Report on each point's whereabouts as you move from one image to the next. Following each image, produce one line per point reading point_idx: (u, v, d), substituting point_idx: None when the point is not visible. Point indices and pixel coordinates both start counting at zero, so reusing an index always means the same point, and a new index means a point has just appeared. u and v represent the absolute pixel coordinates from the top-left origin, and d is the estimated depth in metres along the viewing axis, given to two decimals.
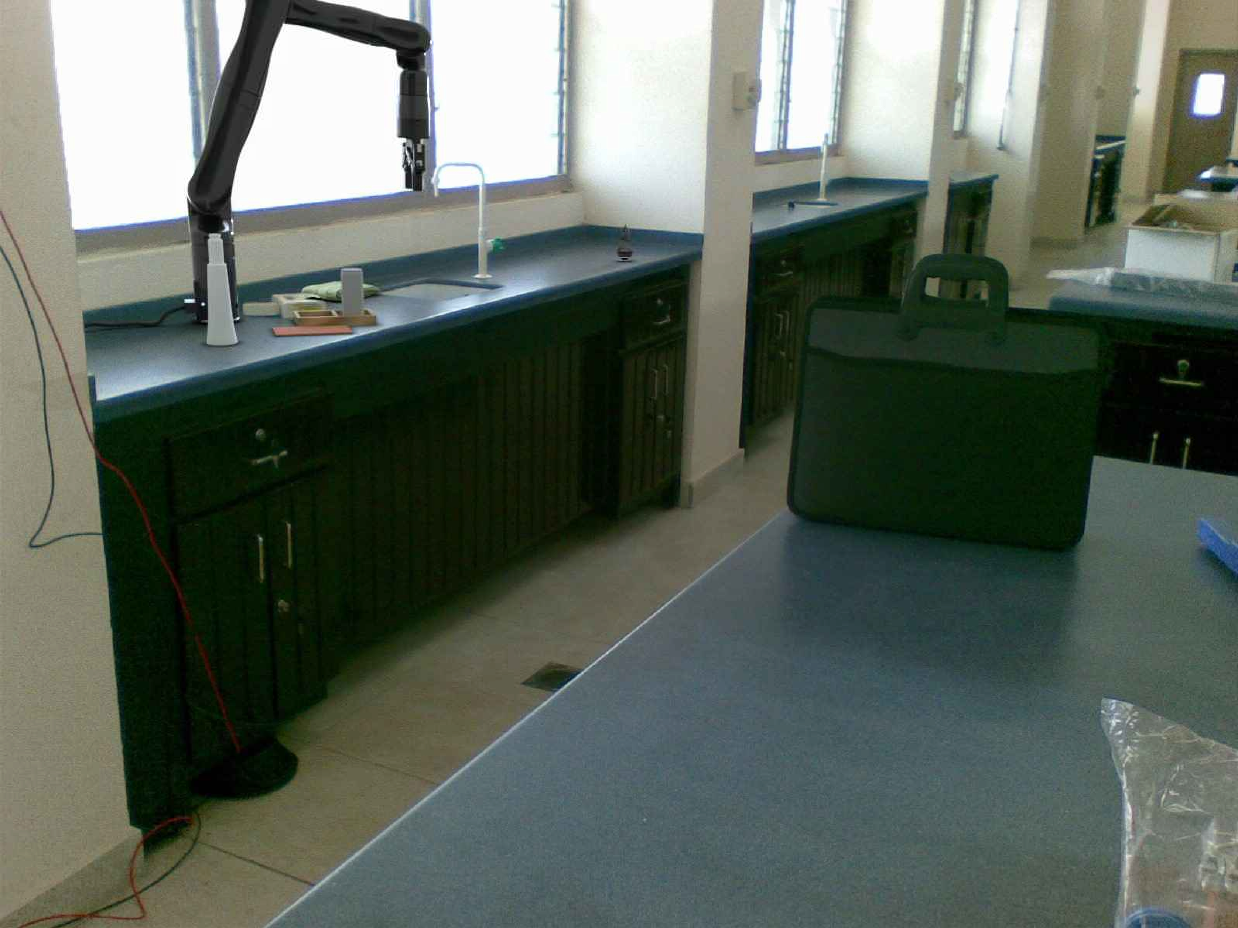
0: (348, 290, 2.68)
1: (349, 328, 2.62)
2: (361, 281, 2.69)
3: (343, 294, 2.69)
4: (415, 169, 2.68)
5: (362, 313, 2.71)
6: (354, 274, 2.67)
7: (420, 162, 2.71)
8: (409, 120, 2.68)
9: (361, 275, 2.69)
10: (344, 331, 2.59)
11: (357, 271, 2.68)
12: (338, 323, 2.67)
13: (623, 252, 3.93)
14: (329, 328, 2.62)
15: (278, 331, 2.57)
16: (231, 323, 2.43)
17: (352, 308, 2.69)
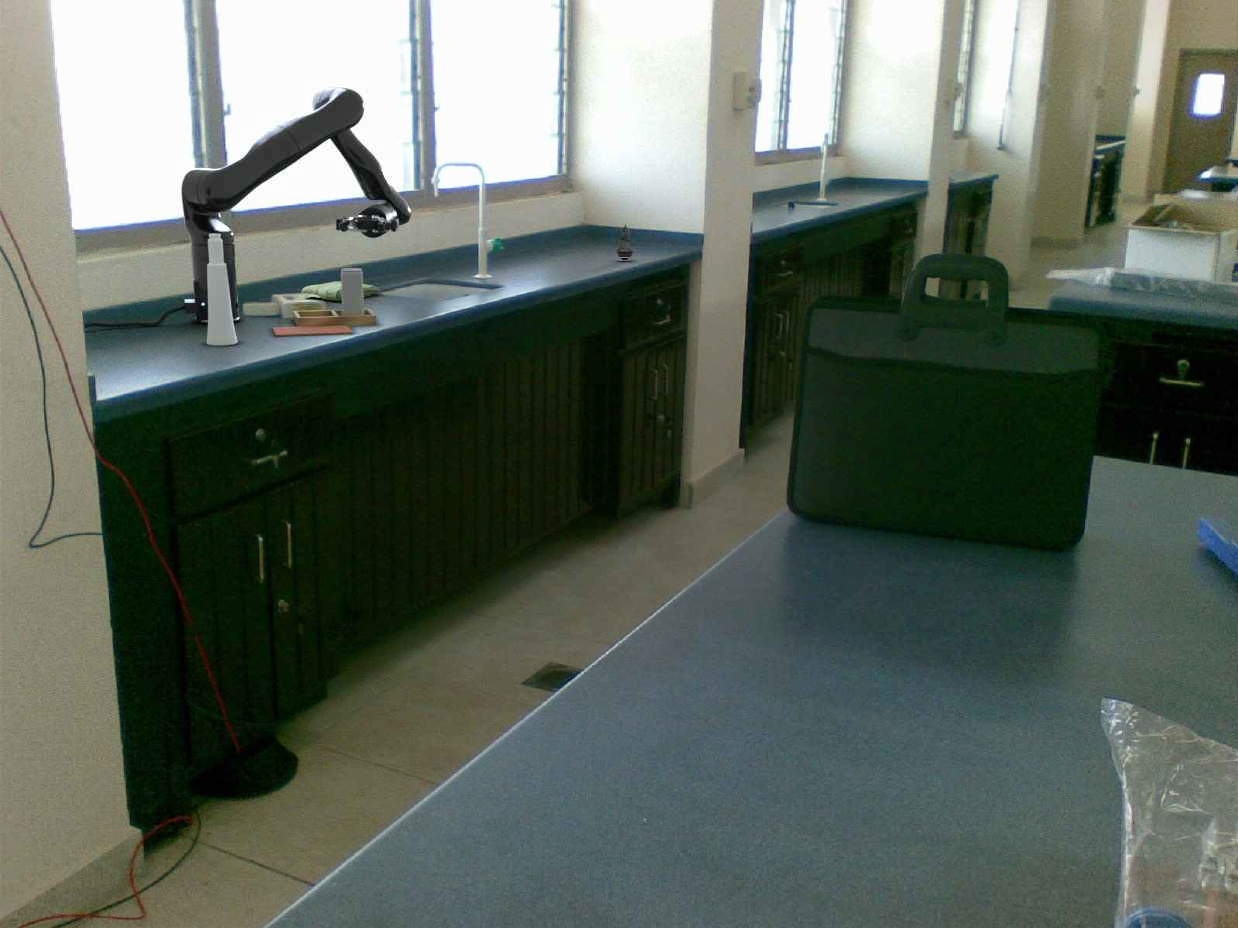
0: (348, 290, 2.68)
1: (349, 328, 2.62)
2: (361, 281, 2.69)
3: (343, 294, 2.69)
4: (395, 222, 2.81)
5: (362, 313, 2.71)
6: (354, 274, 2.67)
7: None
8: (389, 214, 2.91)
9: (361, 275, 2.69)
10: (344, 331, 2.59)
11: (357, 271, 2.68)
12: (338, 323, 2.67)
13: (623, 252, 3.93)
14: (329, 328, 2.62)
15: (278, 331, 2.57)
16: (231, 323, 2.43)
17: (352, 308, 2.69)
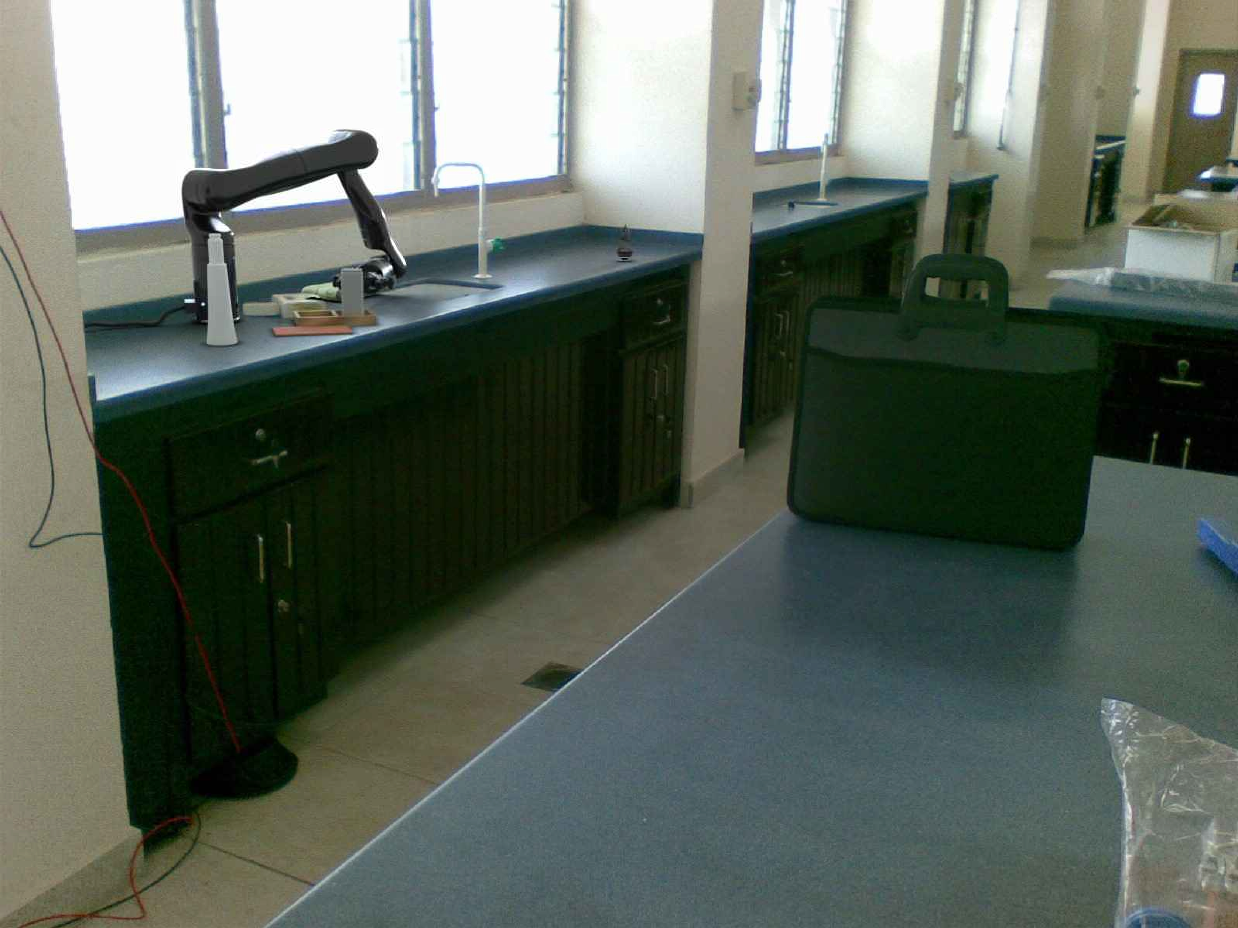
0: (348, 290, 2.68)
1: (349, 328, 2.62)
2: (361, 281, 2.69)
3: (343, 294, 2.69)
4: (392, 279, 2.81)
5: (362, 313, 2.71)
6: (354, 274, 2.67)
7: None
8: (385, 270, 2.91)
9: (361, 275, 2.69)
10: (344, 331, 2.59)
11: (357, 271, 2.68)
12: (338, 323, 2.67)
13: (623, 252, 3.93)
14: (329, 328, 2.62)
15: (278, 331, 2.57)
16: (231, 323, 2.43)
17: (352, 308, 2.69)
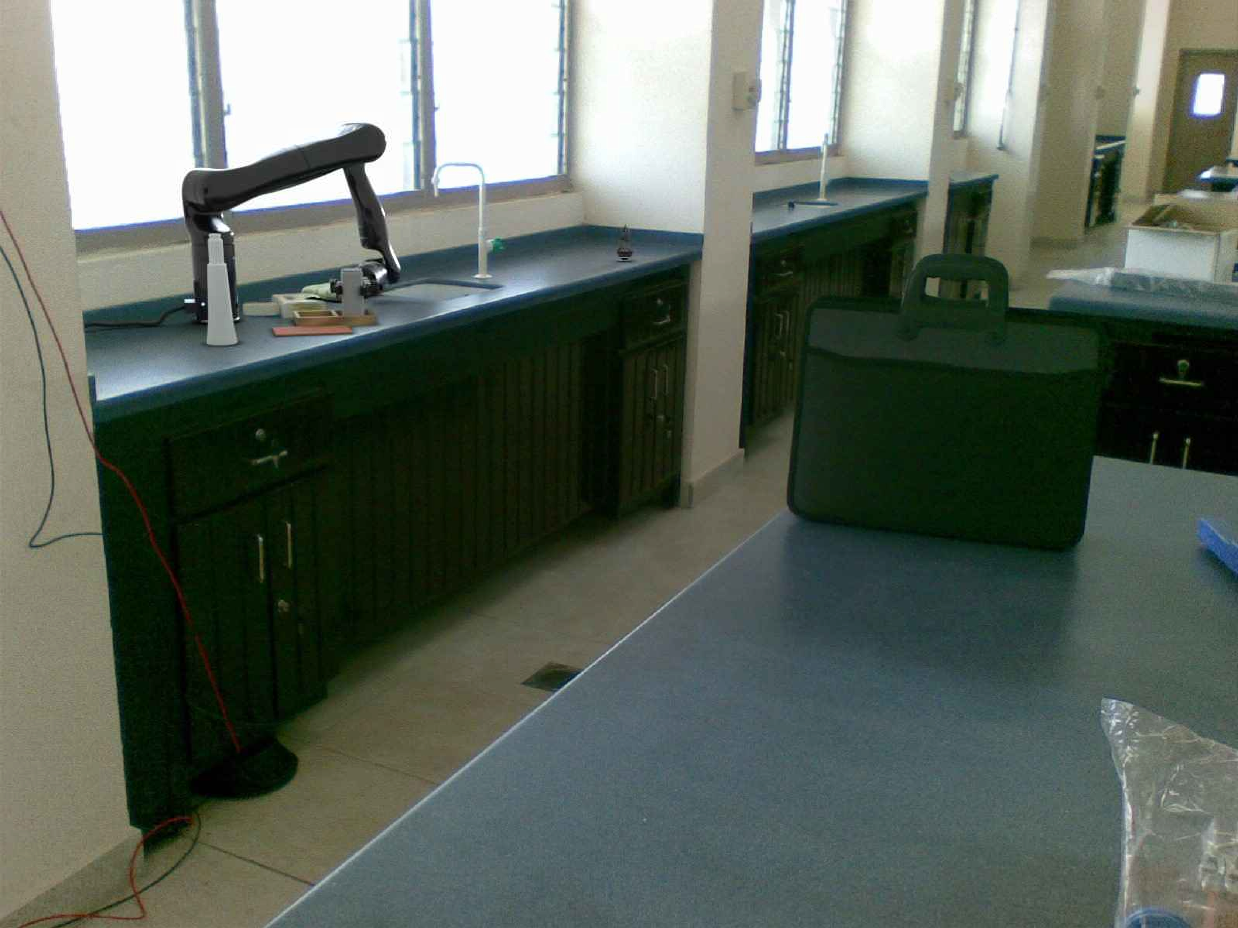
0: (348, 290, 2.68)
1: (349, 328, 2.62)
2: (361, 281, 2.69)
3: (343, 294, 2.69)
4: (378, 284, 2.72)
5: (362, 313, 2.71)
6: (354, 274, 2.67)
7: None
8: (379, 274, 2.83)
9: (361, 275, 2.69)
10: (344, 331, 2.59)
11: (357, 271, 2.68)
12: (338, 323, 2.67)
13: (623, 252, 3.93)
14: (329, 328, 2.62)
15: (278, 331, 2.57)
16: (231, 323, 2.43)
17: (352, 308, 2.69)
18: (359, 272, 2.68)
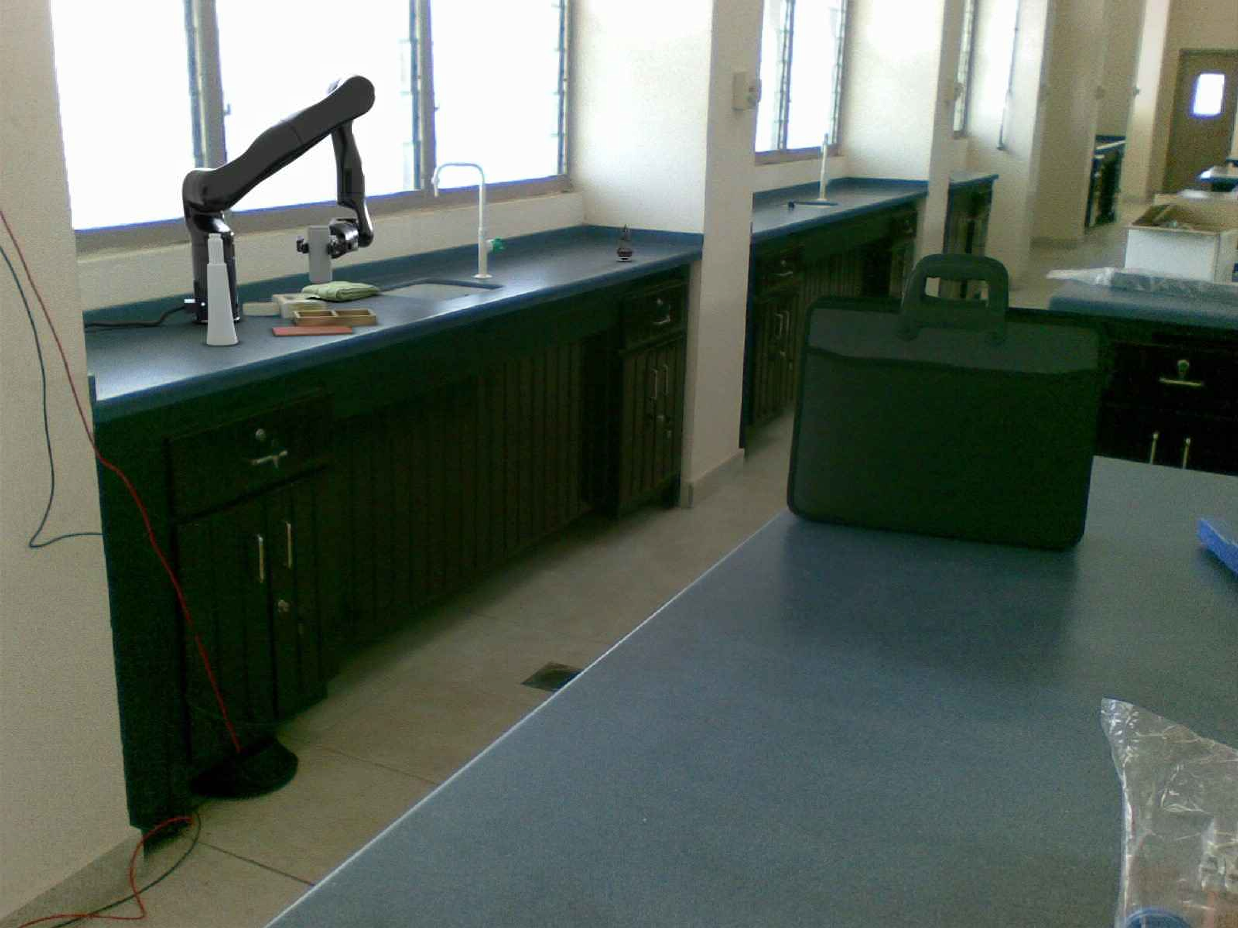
0: (315, 248, 2.56)
1: (349, 328, 2.62)
2: (328, 239, 2.57)
3: (310, 253, 2.57)
4: (347, 242, 2.60)
5: (330, 273, 2.59)
6: (321, 231, 2.55)
7: None
8: (348, 233, 2.71)
9: (328, 233, 2.57)
10: (344, 331, 2.59)
11: (324, 228, 2.55)
12: (338, 323, 2.67)
13: (623, 252, 3.93)
14: (329, 328, 2.62)
15: (278, 331, 2.57)
16: (231, 323, 2.43)
17: (319, 267, 2.57)
18: (326, 229, 2.56)
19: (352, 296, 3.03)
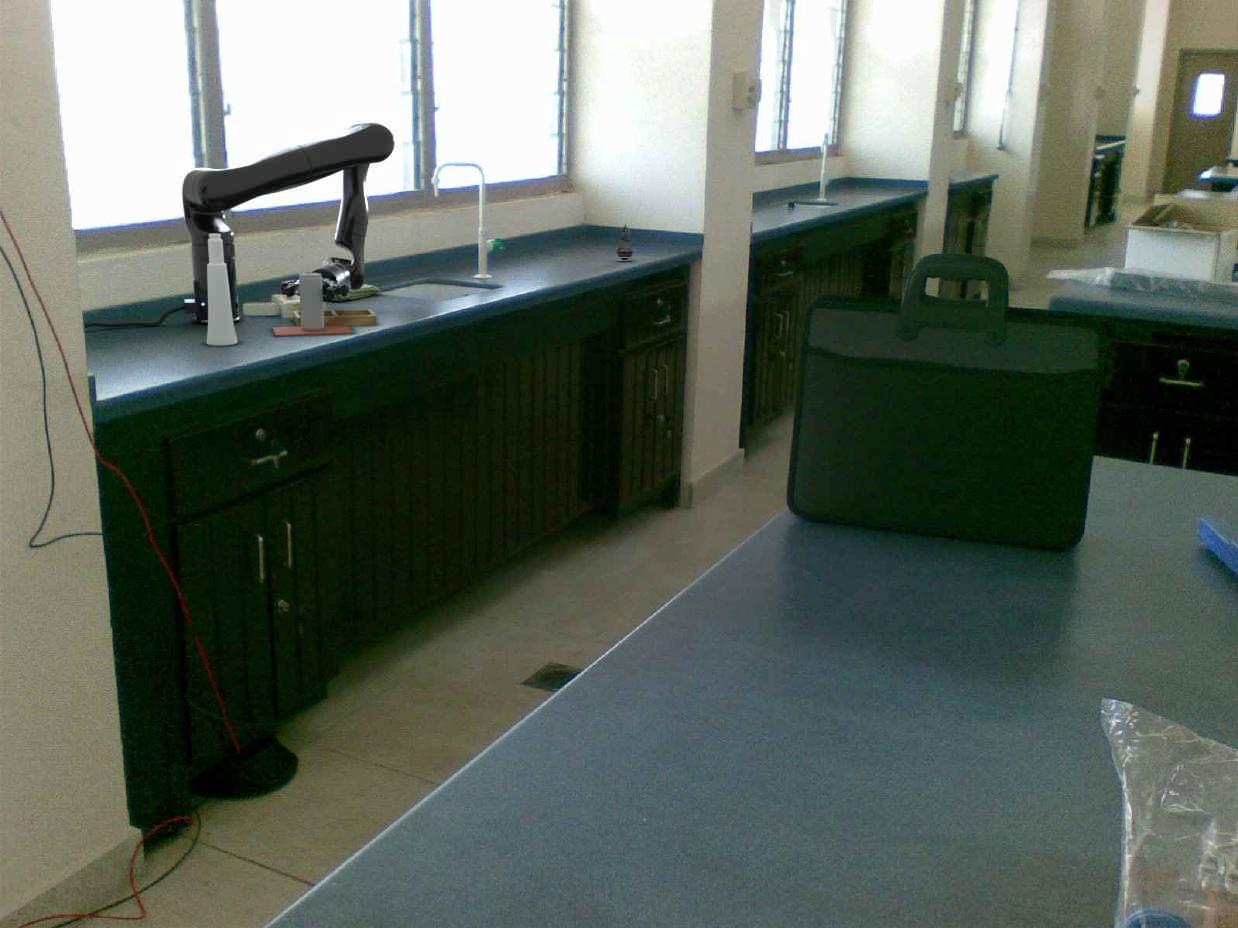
0: (307, 296, 2.56)
1: (349, 328, 2.62)
2: (320, 286, 2.57)
3: (301, 300, 2.57)
4: (346, 286, 2.60)
5: (322, 320, 2.59)
6: (313, 279, 2.55)
7: None
8: (340, 276, 2.70)
9: (320, 280, 2.56)
10: (344, 331, 2.59)
11: (316, 276, 2.55)
12: (338, 323, 2.67)
13: (623, 252, 3.93)
14: (329, 328, 2.62)
15: (278, 331, 2.57)
16: (231, 323, 2.43)
17: (311, 315, 2.57)
18: (318, 277, 2.56)
19: (352, 296, 3.03)
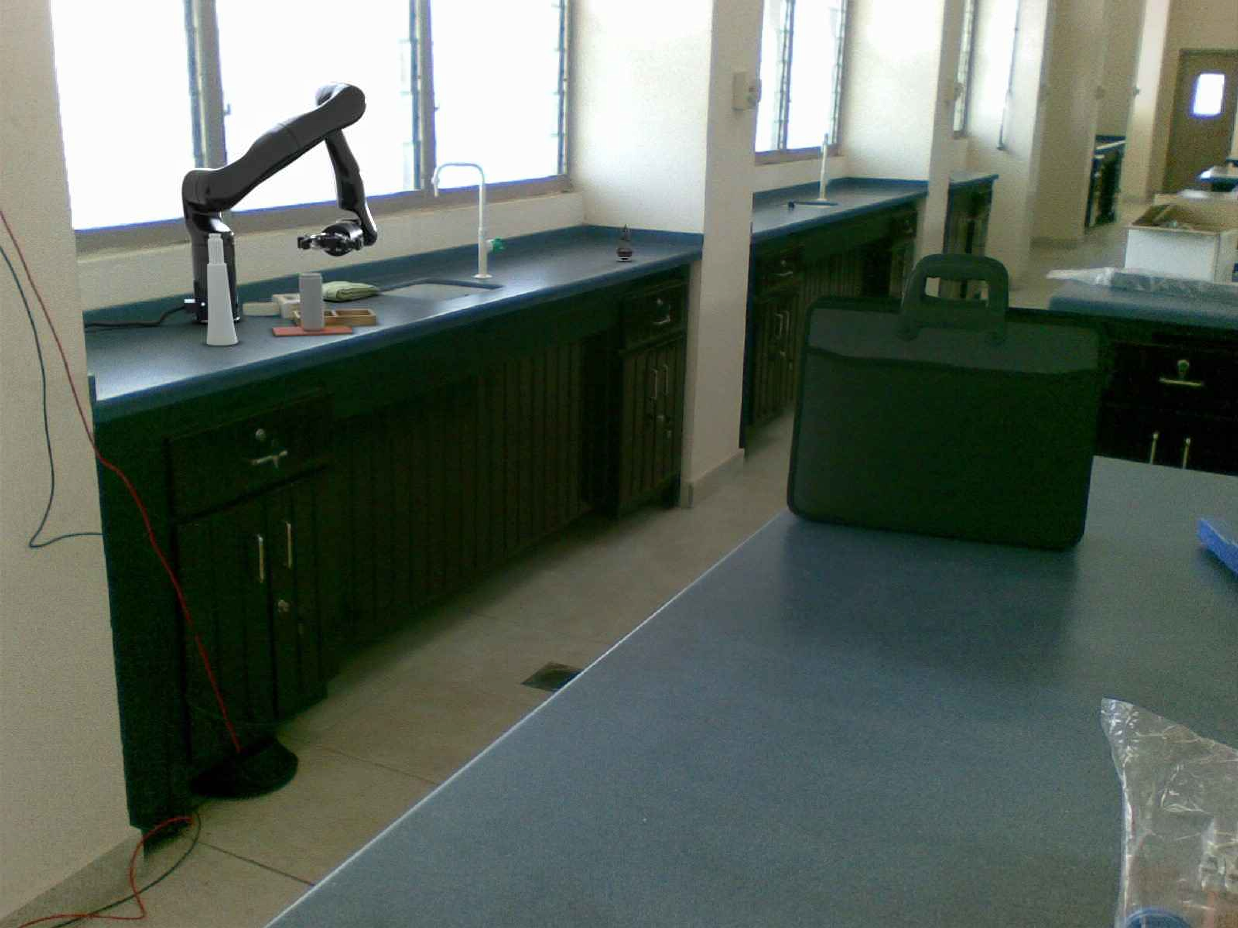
0: (307, 296, 2.56)
1: (349, 328, 2.62)
2: (320, 286, 2.57)
3: (301, 300, 2.57)
4: (359, 240, 2.72)
5: (322, 320, 2.59)
6: (313, 279, 2.55)
7: None
8: (353, 232, 2.82)
9: (320, 280, 2.56)
10: (344, 331, 2.59)
11: (316, 276, 2.55)
12: (338, 323, 2.67)
13: (623, 252, 3.93)
14: (329, 328, 2.62)
15: (278, 331, 2.57)
16: (231, 323, 2.43)
17: (311, 315, 2.57)
18: (318, 277, 2.56)
19: (352, 296, 3.03)
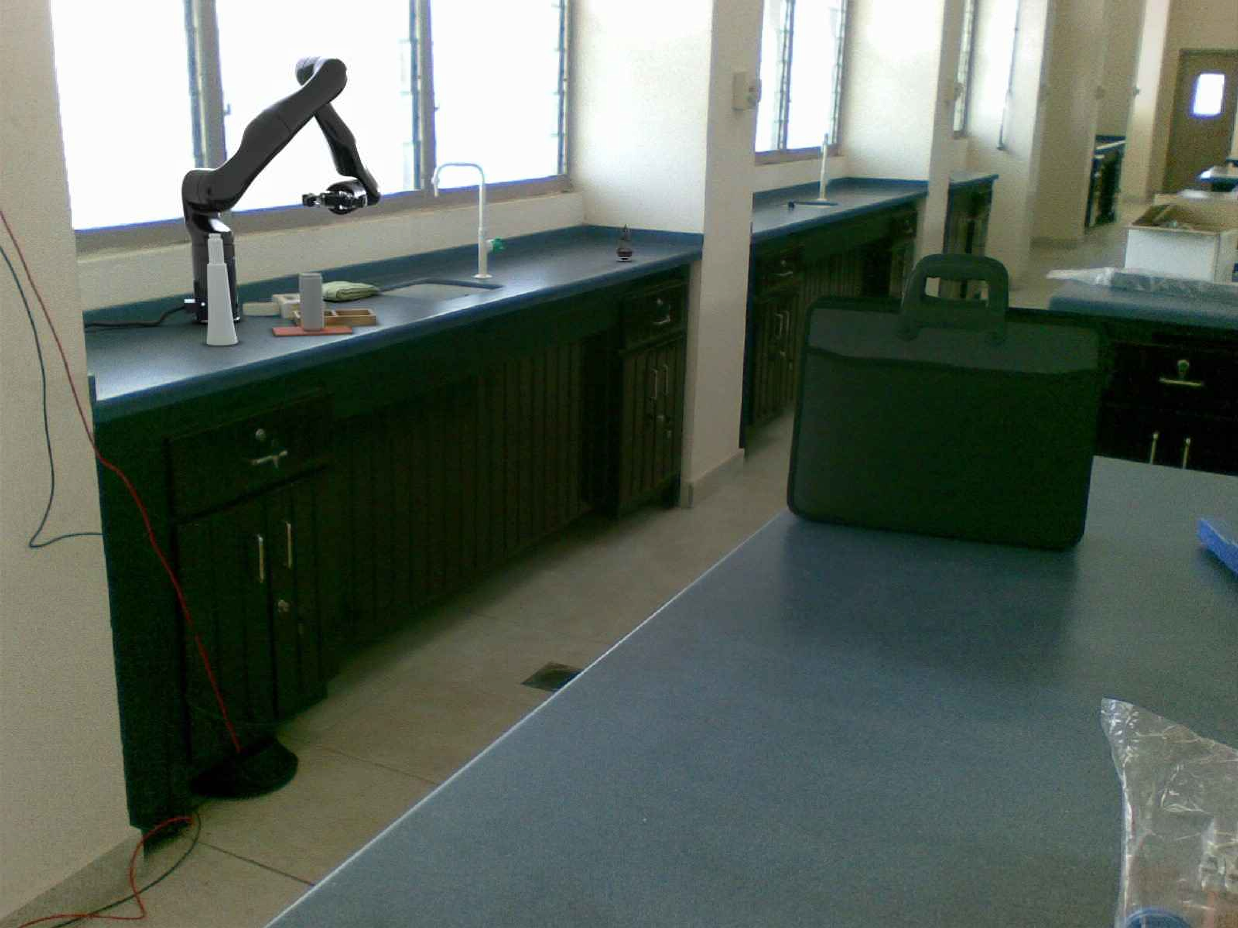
0: (307, 296, 2.56)
1: (349, 328, 2.62)
2: (320, 286, 2.57)
3: (301, 300, 2.57)
4: (363, 197, 2.76)
5: (322, 320, 2.59)
6: (313, 279, 2.55)
7: None
8: (357, 191, 2.86)
9: (320, 280, 2.56)
10: (344, 331, 2.59)
11: (316, 276, 2.55)
12: (338, 323, 2.67)
13: (623, 252, 3.93)
14: (329, 328, 2.62)
15: (278, 331, 2.57)
16: (231, 323, 2.43)
17: (311, 315, 2.57)
18: (318, 277, 2.56)
19: (352, 296, 3.03)
